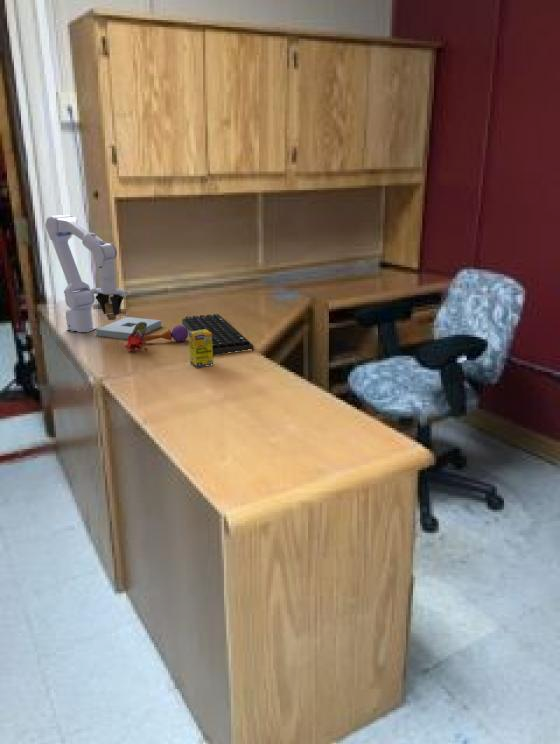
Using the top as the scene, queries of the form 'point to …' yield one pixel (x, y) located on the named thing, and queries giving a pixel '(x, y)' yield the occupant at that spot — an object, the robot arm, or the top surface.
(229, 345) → the computer keyboard
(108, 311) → the walnut peg
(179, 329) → the kendama
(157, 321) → the socket board
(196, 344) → the supplement box
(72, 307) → the robot arm
